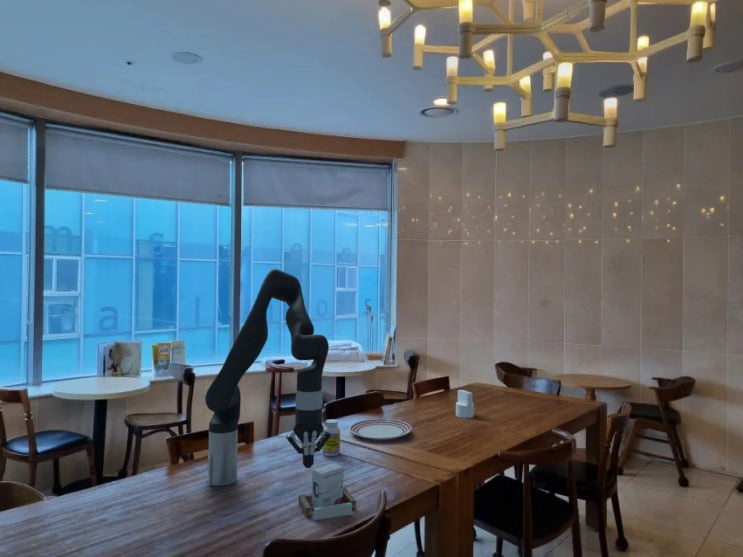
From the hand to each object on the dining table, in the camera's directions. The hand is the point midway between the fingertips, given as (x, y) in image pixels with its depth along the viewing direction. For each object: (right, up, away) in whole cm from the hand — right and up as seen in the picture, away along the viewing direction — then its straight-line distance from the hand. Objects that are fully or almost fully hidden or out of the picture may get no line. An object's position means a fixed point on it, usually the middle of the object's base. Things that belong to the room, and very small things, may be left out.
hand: (307, 467), depth 145 cm
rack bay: (+4, -15, +10) cm, 19 cm away
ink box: (+5, -15, +8) cm, 18 cm away
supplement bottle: (+2, -15, +56) cm, 58 cm away
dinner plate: (+22, -16, +82) cm, 87 cm away
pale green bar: (+7, -15, +2) cm, 17 cm away
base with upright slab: (+65, -16, +115) cm, 133 cm away
